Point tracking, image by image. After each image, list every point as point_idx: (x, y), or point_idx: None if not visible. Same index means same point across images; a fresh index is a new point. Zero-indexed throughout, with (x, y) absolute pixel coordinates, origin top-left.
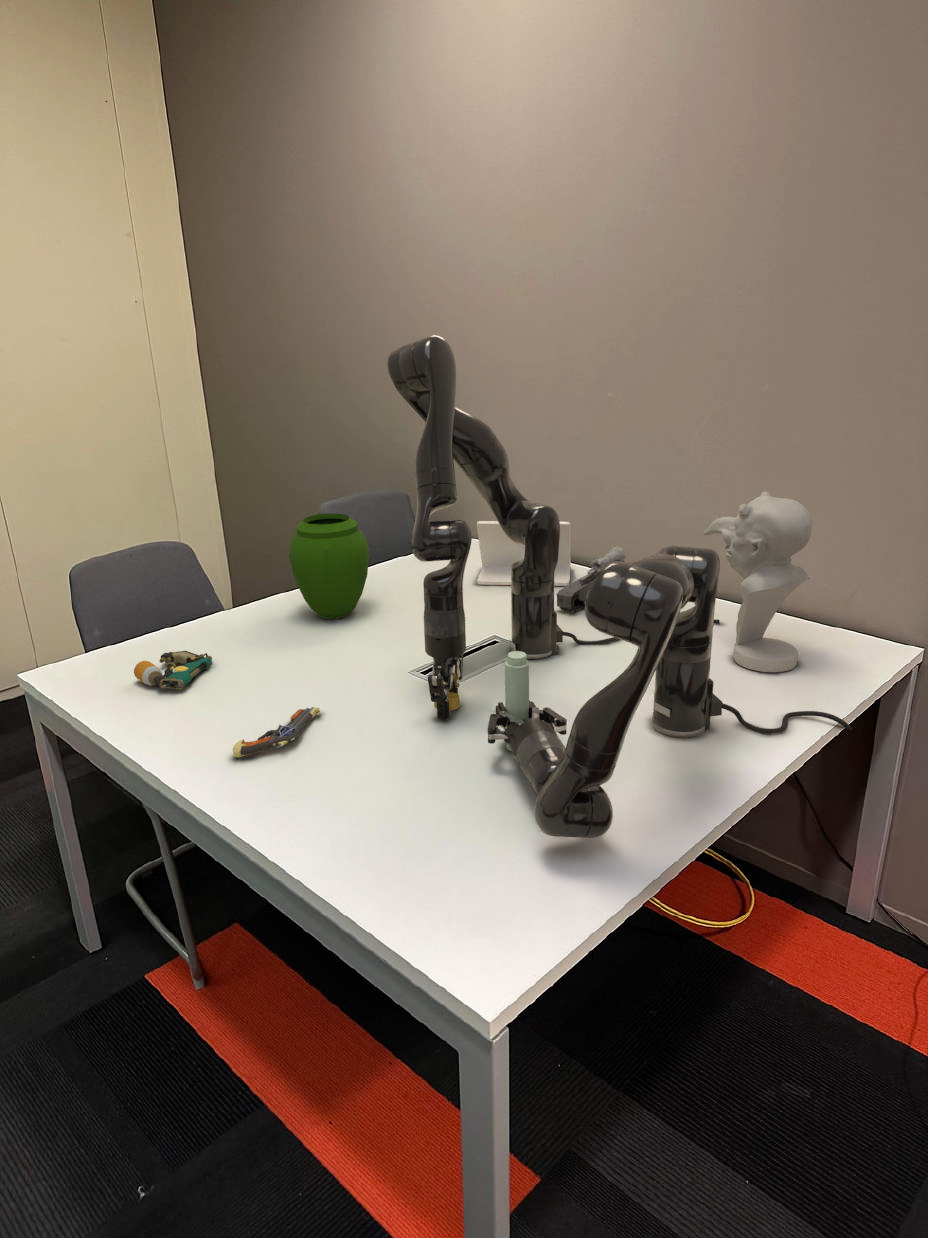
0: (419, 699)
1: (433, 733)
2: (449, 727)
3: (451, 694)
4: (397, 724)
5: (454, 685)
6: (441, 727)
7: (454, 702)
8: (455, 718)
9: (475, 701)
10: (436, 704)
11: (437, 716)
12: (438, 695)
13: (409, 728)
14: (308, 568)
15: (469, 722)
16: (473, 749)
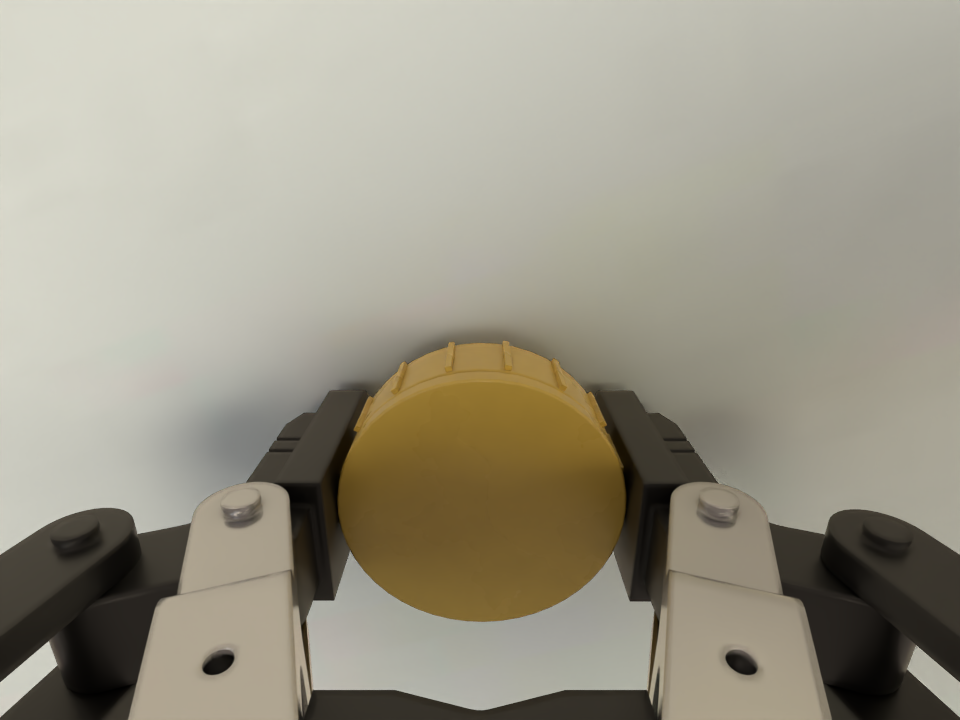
0: (728, 42)
1: (108, 421)
2: None
3: (561, 536)
4: (95, 22)
5: (655, 612)
6: (228, 447)
7: (407, 595)
8: None
9: None
10: (369, 411)
11: (332, 393)
12: (122, 631)
13: (82, 188)
14: None
15: (381, 600)
16: None
